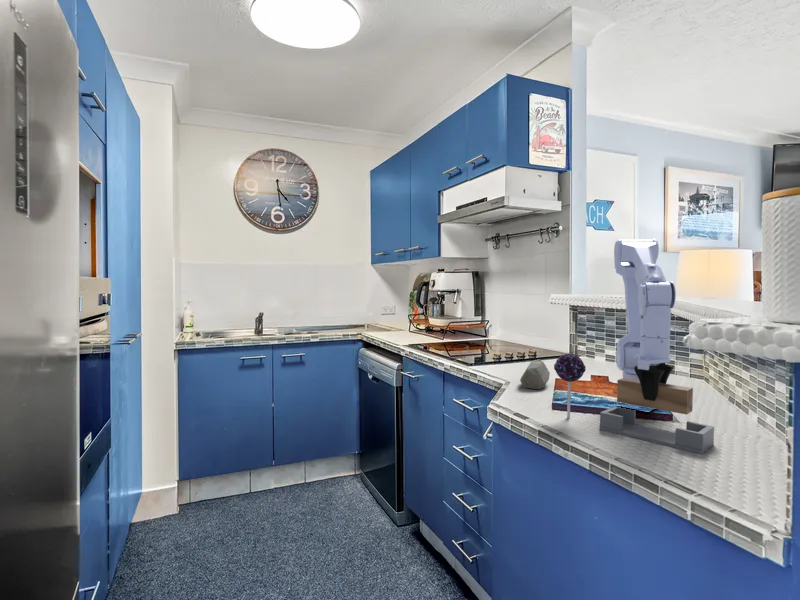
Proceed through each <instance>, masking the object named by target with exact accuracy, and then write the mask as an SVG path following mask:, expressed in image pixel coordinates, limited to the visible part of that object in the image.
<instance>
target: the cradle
mask: <svg viewBox="0 0 800 600" xmlns="http://www.w3.org/2000/svg"><path fill="white" fill-rule="evenodd" d="M636 412H637V411H636V410H631V409H626V408H621V407H616V406H612V407H610V408H607V409H605V410H603V411H600V414H599V417H600V418H599V430H600V431H601V430H602V431H606V432H610V433H612V434H613V433H614V434H617V435H622V436H626V437H630V438H635V439H637V440H638V439H639V440H642V441H647V442H651V443H654V444H659V445H663V446H666V447H667V446H668V447H672V448H676V449H680V450H684V451H687V452H692V453H697V454H701V455H703V454H704V453H705V452H707V451H708V450H709V449H711V448H712V446H714V445H715V441H714V440H715V439H714V438H715V426H714V425H708V424H703V423H699V422H695V421H694V422H692V421H689V420H688V421H686V422H685V423H686V424H685V425H686V426H685V427H686V429H685V428H680V427H675V432H673V431H668V430H663V429H658V428H654V427H650V426H645V425H641V424H636V415H637V414H636Z"/></svg>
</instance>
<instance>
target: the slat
mask: <svg viewBox="0 0 800 600" xmlns="http://www.w3.org/2000/svg"><path fill="white" fill-rule="evenodd" d="M616 383H617V386H616V387H617V389H616V392H617V394H616V395H617V396H616V402H617V403H621V402H622V403H627V404H632V405H638V406H643V407H648V408H654V409H656V410H659V411H660V410H661V411H665V412H671V413H677V414H681V415H689V414H690V413H692V412H693V400H694V399H693V397H694V387H689V386H683V385H675V384H670V383H666V384H664V383H659V386H658V392H657V397H656V400H655V401H651V400H645V399H644V397H643V393H642V388H641V384H640V381H639V380H637V379H630V378H622V377H621V378H619V379H617V382H616Z"/></svg>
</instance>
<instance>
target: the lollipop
mask: <svg viewBox="0 0 800 600" xmlns="http://www.w3.org/2000/svg"><path fill="white" fill-rule="evenodd" d="M586 368H587V367H586V365H585V364H584V361H583V359H582V358H580V356H578V355H577V354H574V353H564V354H562V355H560V356H559V357H558V358H557V359H556V361H555V363H554V365H553V369H554V371H555V373H556V375H557V376H558V377H559V379H561V380H562V381H564V382H567V398H566V399H567V402H566V403H567V404H566V405H567V408H566V409H567V410H566V412H567V413H566V418H567V419H570V418H571V394H572V393H571V389H572V382H576V381H578V380H579V379H580V380H581V378H582V377H583V375H584V374H585V372H586Z"/></svg>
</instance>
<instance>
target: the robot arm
mask: <svg viewBox="0 0 800 600" xmlns="http://www.w3.org/2000/svg"><path fill="white" fill-rule="evenodd" d="M659 249H660V248H659V242H658V240H657V239H656V238H651V239H645V238H644V239H621V238H619V239H617V240H616V241H615V243H614V249H613V258H614V269H615V273H616V274H618V275H619V276H621V277H622V280H623V285H624V297H625V312H626V329H627V334H625V335H624V336H622V337H621V338H619V339H618V340H617V343H616V353H615V359H616V360H615V364H616V367H617V369H618V370H619V371H622V376H621V379H622V378H630V379H637V380H639V381H640V384H641V388H642V393H643V397H644V399H645V400H651V401H655V400H656V397H657V392H658V386H659V383H664V384H667V383H668V382H667V381H668V379H669V377H670V375H671V373H672V372H673V370H674V368H675V367H674V365H672V364H668V363H671V356H670V355H671V354H670V350H671V319H672V309H673V308H674V307H675V304H676V298H677V297H676V296H677V295H676V294H677V293H676V285H675V284H674V282H673V281H670V280H667V279H666V278H665V275H664V272H663V270H662V268H661V267H660V266H659V265H658V264H656V263H657V260H658V256H659ZM625 404H627V403H625ZM628 405H632V404H628ZM633 406H638V405H633ZM641 407H643V406H641Z"/></svg>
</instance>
